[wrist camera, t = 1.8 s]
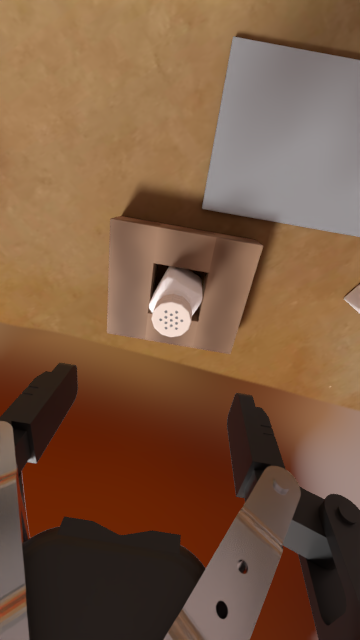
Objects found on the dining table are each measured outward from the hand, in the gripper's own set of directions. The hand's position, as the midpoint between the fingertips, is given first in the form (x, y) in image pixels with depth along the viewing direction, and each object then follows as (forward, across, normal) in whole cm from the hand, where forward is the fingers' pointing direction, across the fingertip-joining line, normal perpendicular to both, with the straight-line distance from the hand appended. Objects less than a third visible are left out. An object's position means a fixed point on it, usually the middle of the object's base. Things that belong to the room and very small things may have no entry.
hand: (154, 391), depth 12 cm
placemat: (+18, -9, -14) cm, 24 cm away
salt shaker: (+18, 0, 0) cm, 18 cm away
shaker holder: (+18, 0, 0) cm, 18 cm away
